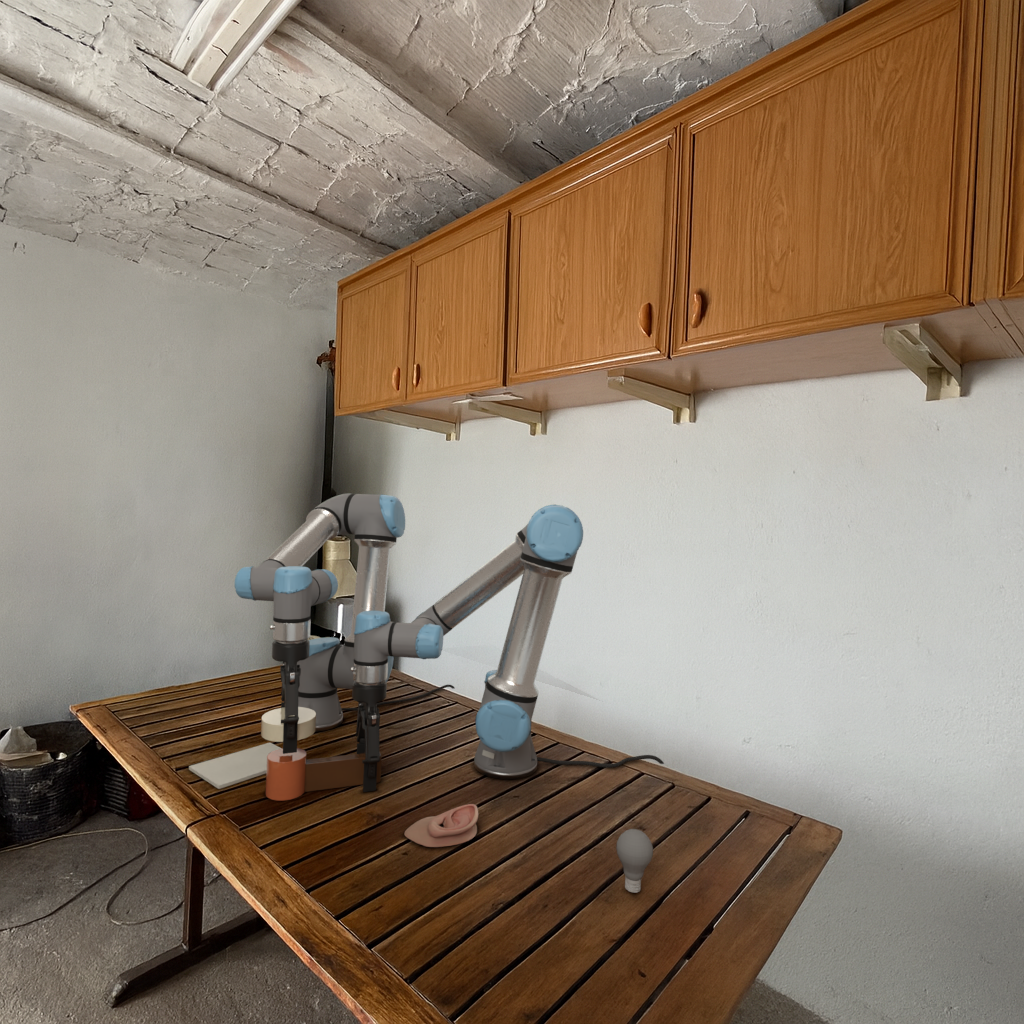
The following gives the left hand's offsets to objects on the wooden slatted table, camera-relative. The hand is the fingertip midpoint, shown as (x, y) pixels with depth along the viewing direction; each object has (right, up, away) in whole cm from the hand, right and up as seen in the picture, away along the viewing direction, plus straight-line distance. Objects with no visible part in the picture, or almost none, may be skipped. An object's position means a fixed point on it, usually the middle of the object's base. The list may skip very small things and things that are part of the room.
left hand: (288, 741), depth 135 cm
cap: (0, +2, 0) cm, 2 cm away
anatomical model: (+34, -13, -14) cm, 39 cm away
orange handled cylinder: (+7, -11, +3) cm, 13 cm away
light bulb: (+68, -14, -30) cm, 76 cm away
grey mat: (-14, -10, +12) cm, 21 cm away
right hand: (+15, -11, +6) cm, 20 cm away
